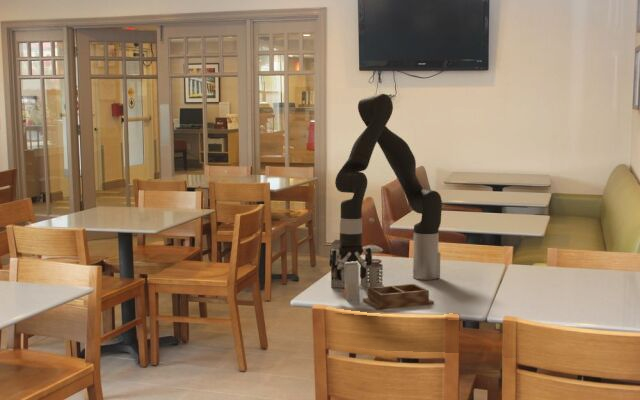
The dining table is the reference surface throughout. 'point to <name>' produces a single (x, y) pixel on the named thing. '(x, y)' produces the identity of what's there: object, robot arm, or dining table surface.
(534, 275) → the dining table surface
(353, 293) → the skincare box
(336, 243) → the coffee box
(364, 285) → the french press
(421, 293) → the wooden compartment tray
